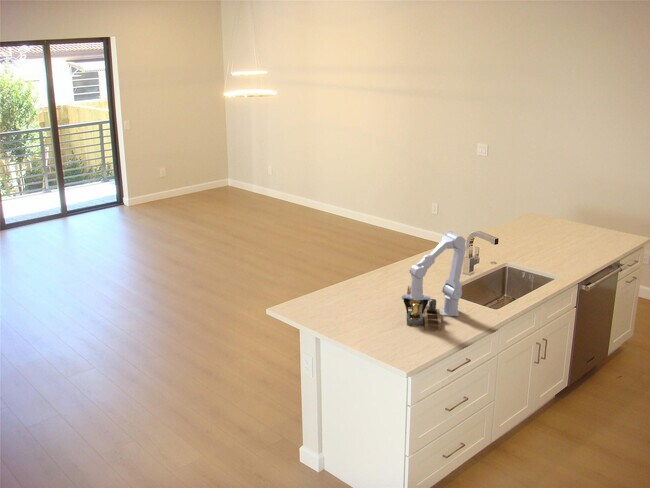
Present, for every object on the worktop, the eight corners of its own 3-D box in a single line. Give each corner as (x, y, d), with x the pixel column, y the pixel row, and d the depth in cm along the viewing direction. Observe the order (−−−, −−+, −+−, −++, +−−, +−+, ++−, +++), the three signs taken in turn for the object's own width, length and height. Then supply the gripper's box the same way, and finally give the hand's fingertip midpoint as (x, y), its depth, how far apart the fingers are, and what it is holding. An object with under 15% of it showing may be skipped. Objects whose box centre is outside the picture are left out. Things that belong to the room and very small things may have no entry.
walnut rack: (423, 312, 377) (424, 308, 376) (439, 313, 376) (439, 309, 375) (424, 329, 357) (425, 325, 356) (441, 330, 356) (441, 326, 355)
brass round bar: (411, 318, 369) (412, 302, 366) (418, 319, 369) (419, 303, 366) (411, 321, 366) (412, 305, 363) (418, 322, 365) (419, 305, 363)
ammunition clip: (407, 307, 383) (408, 286, 379) (405, 306, 384) (406, 285, 380) (422, 303, 388) (424, 283, 384) (420, 302, 390) (422, 282, 386)
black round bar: (428, 314, 375) (429, 298, 372) (435, 315, 374) (436, 299, 371) (428, 317, 371) (429, 301, 368) (435, 317, 371) (436, 301, 368)
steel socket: (406, 315, 373) (406, 310, 372) (422, 316, 373) (422, 311, 372) (406, 324, 362) (407, 320, 361) (422, 325, 361) (423, 321, 360)
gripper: (402, 290, 358) (400, 315, 363) (431, 291, 357) (429, 316, 361) (402, 285, 365) (400, 309, 369) (430, 286, 364) (429, 311, 368)
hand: (414, 312), depth 366 cm, fingers open, 7 cm apart
